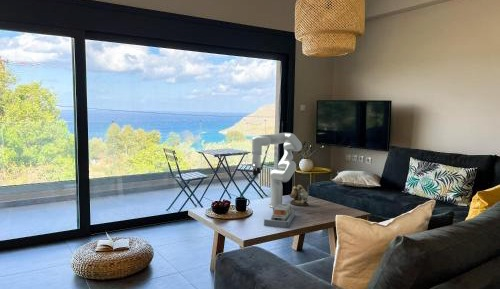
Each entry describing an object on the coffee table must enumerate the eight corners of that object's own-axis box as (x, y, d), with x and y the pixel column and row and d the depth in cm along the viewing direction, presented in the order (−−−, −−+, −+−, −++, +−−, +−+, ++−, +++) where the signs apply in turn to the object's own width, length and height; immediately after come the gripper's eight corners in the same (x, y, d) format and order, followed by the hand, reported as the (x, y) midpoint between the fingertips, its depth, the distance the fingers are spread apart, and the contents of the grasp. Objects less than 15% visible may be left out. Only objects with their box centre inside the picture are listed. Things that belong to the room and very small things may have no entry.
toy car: (270, 224, 263) (270, 210, 262) (278, 215, 286) (279, 202, 285) (284, 226, 260) (285, 212, 259) (292, 216, 283) (292, 203, 282)
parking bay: (273, 213, 291) (273, 208, 291) (294, 214, 287) (294, 209, 286) (264, 225, 260) (264, 219, 260) (287, 227, 256) (288, 222, 256)
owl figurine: (286, 204, 319) (286, 184, 318) (292, 201, 329) (293, 182, 327) (305, 207, 309) (305, 187, 307) (311, 204, 318) (311, 185, 317)
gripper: (255, 151, 297) (254, 172, 299) (249, 154, 281) (249, 176, 282) (264, 151, 295) (263, 173, 297) (258, 154, 279) (258, 176, 281)
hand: (256, 174), depth 290 cm, fingers open, 9 cm apart
